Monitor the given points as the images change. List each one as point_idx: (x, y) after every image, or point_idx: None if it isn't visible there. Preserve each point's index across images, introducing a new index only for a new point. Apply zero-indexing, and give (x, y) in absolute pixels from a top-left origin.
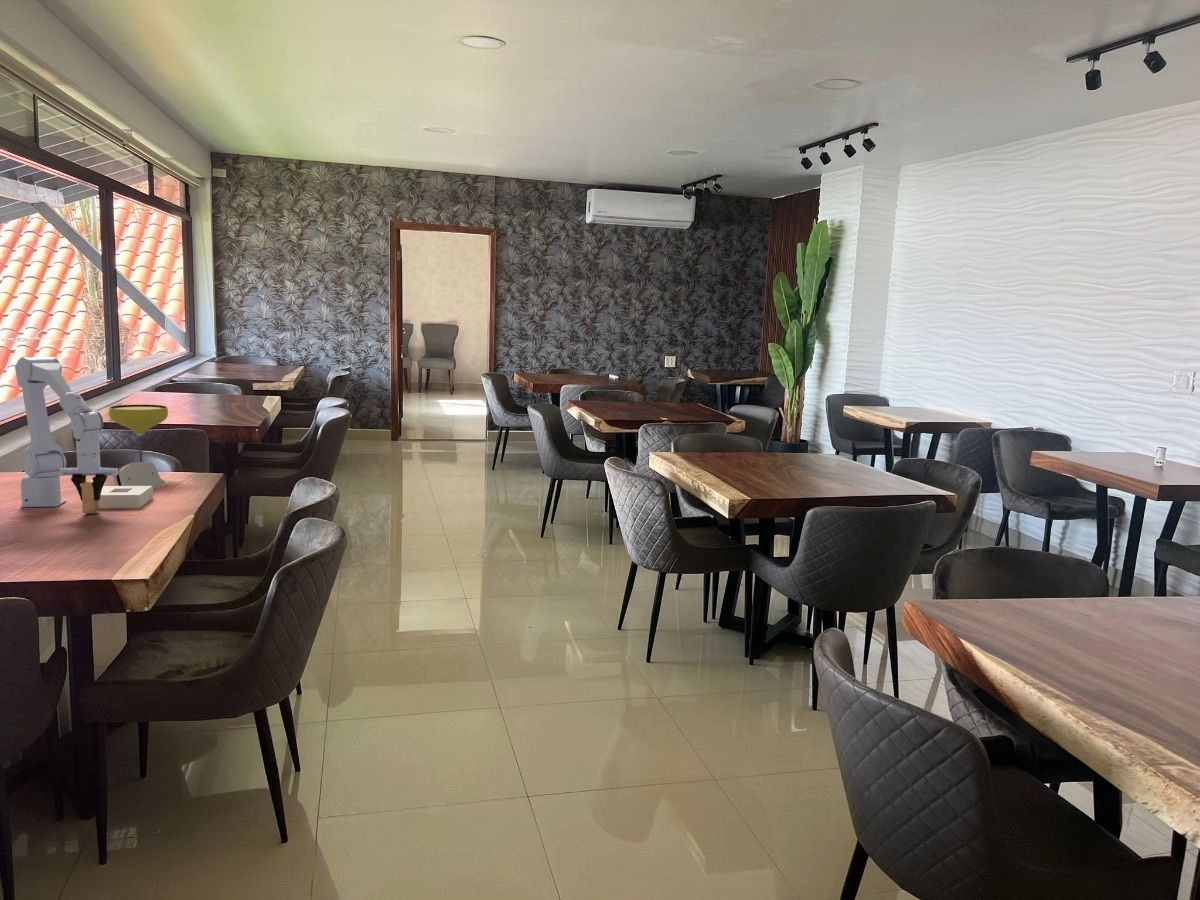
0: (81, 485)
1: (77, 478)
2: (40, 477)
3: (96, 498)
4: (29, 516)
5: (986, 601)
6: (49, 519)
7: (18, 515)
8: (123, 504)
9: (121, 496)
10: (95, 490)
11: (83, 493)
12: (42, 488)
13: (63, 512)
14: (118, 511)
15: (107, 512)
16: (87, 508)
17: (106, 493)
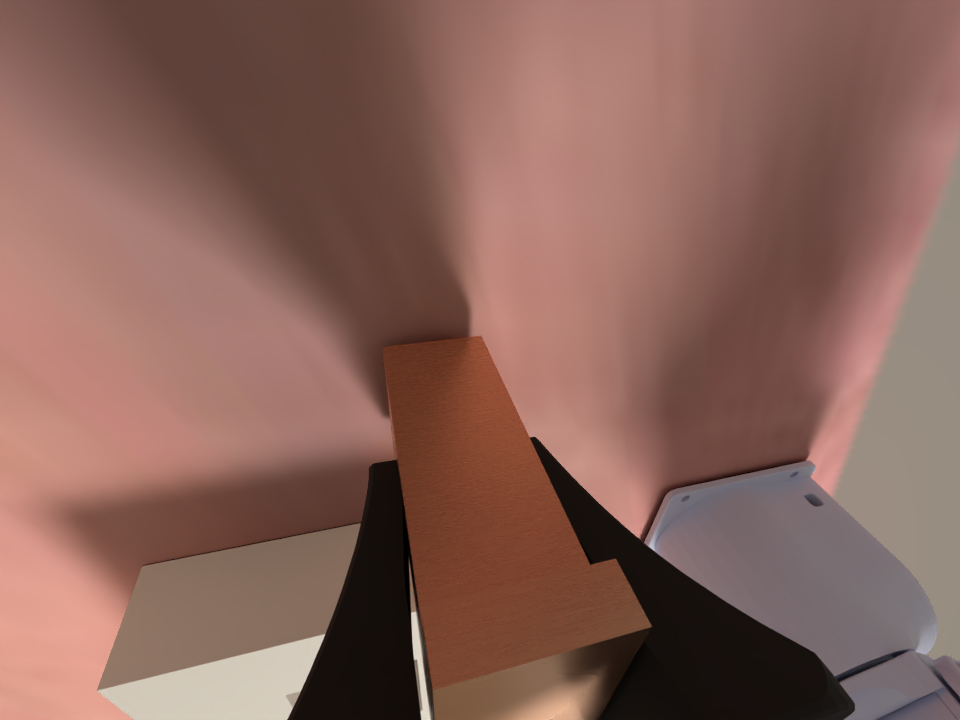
0: (607, 586)
1: None
2: (875, 661)
3: (379, 479)
4: (816, 277)
5: None
6: (709, 167)
7: (862, 302)
8: (268, 567)
9: (273, 632)
10: (388, 570)
11: (533, 489)
12: (807, 579)
13: (624, 395)
14: (245, 465)
15: (319, 429)
16: (449, 367)
17: (419, 641)
